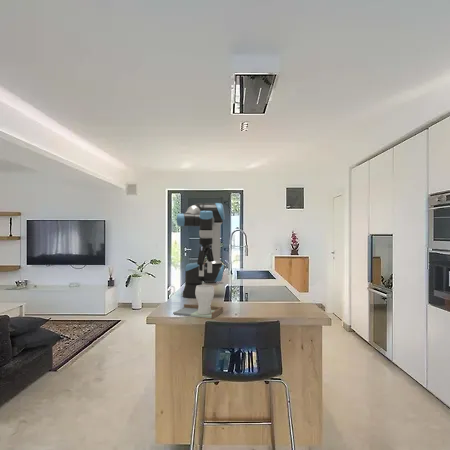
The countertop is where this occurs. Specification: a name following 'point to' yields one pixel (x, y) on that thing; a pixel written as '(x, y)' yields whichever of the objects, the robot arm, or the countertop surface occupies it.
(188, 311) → the rail board
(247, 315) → the countertop surface
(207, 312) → the cup
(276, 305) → the countertop surface
